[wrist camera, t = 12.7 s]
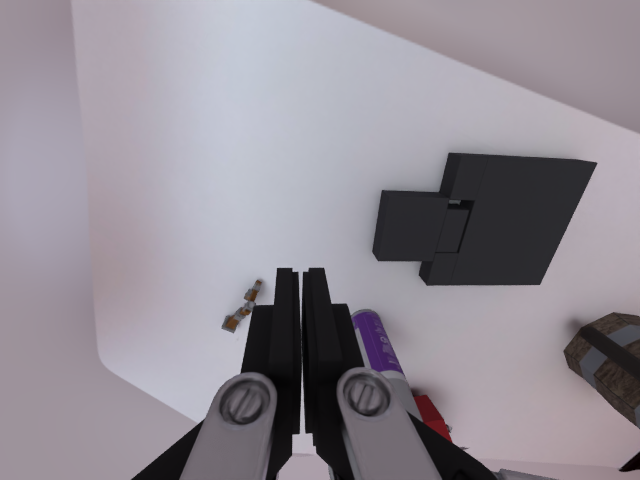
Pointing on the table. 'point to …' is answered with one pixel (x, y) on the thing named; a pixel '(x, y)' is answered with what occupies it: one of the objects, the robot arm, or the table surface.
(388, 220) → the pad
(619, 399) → the mug
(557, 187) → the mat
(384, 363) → the container
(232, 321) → the brown jointed two-tone fixture
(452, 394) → the table surface
